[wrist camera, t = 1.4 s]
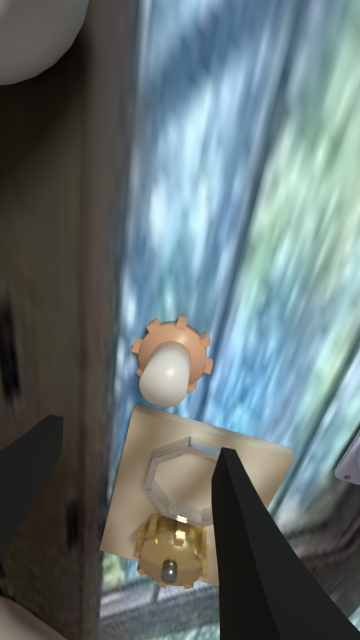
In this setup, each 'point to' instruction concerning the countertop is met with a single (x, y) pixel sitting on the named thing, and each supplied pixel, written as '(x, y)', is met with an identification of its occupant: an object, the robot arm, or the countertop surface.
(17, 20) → the donut
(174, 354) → the gear
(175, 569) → the sun gear
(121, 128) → the countertop surface
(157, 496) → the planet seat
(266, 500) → the carrier plate
